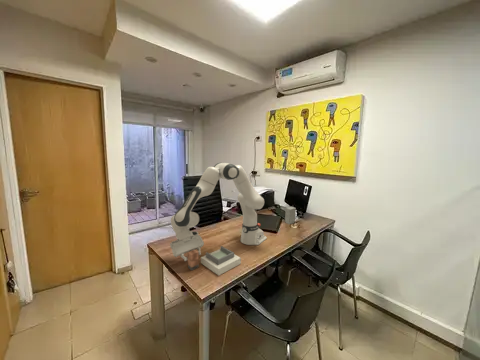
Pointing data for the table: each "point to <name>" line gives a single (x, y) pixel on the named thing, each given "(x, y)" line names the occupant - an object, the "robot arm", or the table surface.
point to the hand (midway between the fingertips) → (193, 257)
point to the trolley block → (193, 259)
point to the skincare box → (290, 215)
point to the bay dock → (220, 260)
